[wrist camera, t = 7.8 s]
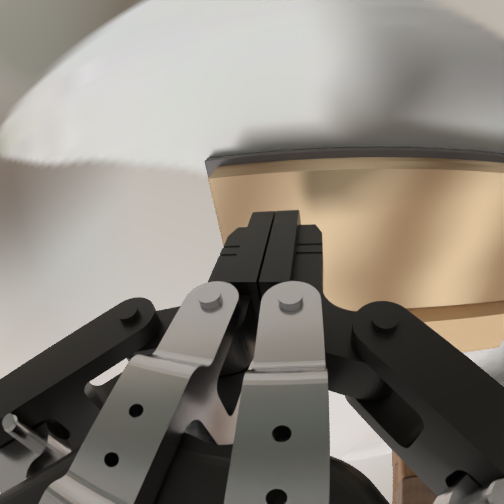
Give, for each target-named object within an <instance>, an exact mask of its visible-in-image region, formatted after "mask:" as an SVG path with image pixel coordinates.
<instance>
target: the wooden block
mask: <svg viewBox="0 0 504 504" xmlns="http://www.w3.org/2000/svg"><path fill="white" fill-rule="evenodd" d="M392 462H393V463H392V465H393V502H392V504H433V503H434V501H435V500H436V498H437V497H438V496H437V495H436V494H435V493H434V492H433V491H432V490H431V489H430V488H429V487H428V486H427V485H426V484H425V483H424V482H423V481H422V480H421V479H420V478H419V477H418V476H417V475H416V474H415V473H414V472H413V471H412V470H411V469H410V468H409V467H408V466H407V465H406V464H405V463H404V461H403V460H402V459H401V458H400V457H399V456H398V455H397V454H396V453H395V452H394V451H393V450H392Z"/></svg>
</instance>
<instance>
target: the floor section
mask: <svg viewBox="0 0 504 504" xmlns="http://www.w3.org/2000/svg"><path fill="white" fill-rule="evenodd" d="M353 157H414V158H443V159H462V160H476V161H489V162H500V163H504V154H501V153H491V152H481V151H469V150H455V149H438V148H412V147H345V148H318V149H300V150H285V151H272V152H260V153H249V154H240V155H230V156H222V157H213V158H207V159H206V160H205V165H206V169H207V174H208V178H209V177H210V176H211V174H212V173H213V172H214V170H215V169H216V168H217V167H219V166H228V165H238V164H248V163H260V162H272V161H286V160H302V159H322V158H353ZM406 309H407V310H408V311H410V312H411V313H412V314H413V315H415V316H416V317H417V318H419V319H420V320H421V321H423V322H424V323H425V324H426V325H428V326H429V327H430V328H432V329H433V330H434V331H435V332H437V333H438V334H439V335H440V336H442V337H443V338H444V339H446V340H447V341H448V342H449V343H451V344H452V345H453V346H454V347H456V348H457V349H458V350H459V351H461V352H462V353H463V352H470V351H477V350H483V349H489V348H495V347H499V346H500V344H501V343H502V341H503V339H504V300H501V301H492V302H482V303H472V304H461V305H449V306H435V307H421V308H406ZM354 312H357V311H354Z"/></svg>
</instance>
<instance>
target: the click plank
mask: <svg viewBox="0 0 504 504" xmlns="http://www.w3.org/2000/svg"><path fill="white" fill-rule="evenodd" d="M208 181H209V184H210V189H211V194H212V198H213V202H214V207H215V211H216V215H217V219H218V223H219V228H220V232H221V236H222V240H223V245H224V244H225V242H226V240H227V237H228V236H229V235H230V234H231V233H232V232H233V231H234V230H236V229H237V228H238V227H247V226H248V223H249V220H250V218H251V215H252V213H253V212H264V211H284V210H299V212H300V220H301V225H311V224H316V226H317V227H318V228H319V230H320V231H321V232H322V242H323V293H324V295H325V297H326V298H327V299H328V300H329V301H330V302H331V303H332V304H334V305H335V306H338V307H340V308H343V309H346V310H350V311H358V310H359V309H360V308H361V307H363V306H364V305H366V304H368V303H371V302H376V301H389V302H393V303H397V304H399V305H401V306H403V307H404V308H421V307H435V306H449V305H461V304H472V303H482V302H492V301H501V300H504V163H500V162H489V161H476V160H462V159H443V158H414V157H353V158H322V159H302V160H286V161H272V162H260V163H248V164H238V165H228V166H219V167H217V168H216V169H215V170H214V172H213V173H212V174H211V176H210V177H209V178H208Z"/></svg>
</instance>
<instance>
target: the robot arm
mask: <svg viewBox="0 0 504 504" xmlns="http://www.w3.org/2000/svg"><path fill="white" fill-rule="evenodd" d="M125 358H127V359H128V361H129V363H128V364H127V366H126V367H125V369H124V371H123V372H122V373H120V374H119V375H117V376H116V377H114V378H113V379H111V380H110V381H108V382H106V383H105V384H103V385H100V386H94V385H92V384H90V383H89V381H90V380H92V379H94V378H96V377H97V376H99V375H100V374H102V373H103V372H105V371H106V370H108V369H110V368H111V367H113V366H114V365H116V364H117V363H119V362H120V361H122V360H124V359H125ZM328 390H330V391H333V392H337V393H339V394H343V395H345V397H346V399H347V401H348V402H349V404H350V405H351V406H352V407H353V408H354V409H355V410H356V411H357V412H358V413H359V415H361V417H362V418H363V419H364V420H365V421H366V422H367V423H368V424H369V425H370V426H371V427H372V429H373V430H374V431H375V432H376V433H377V434H378V435H379V436H380V437H381V438H382V439H383V440H384V441H385V442H386V444H387V445H388V446H389V447H390V448H391V449H392V450H393V451H394V452H395V453H396V454H397V455H398V456H399V457H400V458H401V459H402V460H403V461H404V463H405V464H406V465H407V466H408V467H409V468H410V469H411V470H412V471H413V472H414V473H415V474H416V475H417V476H418V477H419V478H420V479H421V480H422V481H423V482H424V483H425V484H426V485H427V486H428V487H429V488H430V489H431V490H432V491H433V492H434V493H435V494H436V495H437V496H438V497H437V498H436V500H435V501H434V503H433V504H504V387H503V386H502V385H500V384H499V383H498V382H497V381H496V380H494V379H493V378H492V377H491V376H490V375H489V374H487V373H486V372H485V371H484V370H483V369H481V368H480V367H479V366H478V365H476V364H475V363H474V362H473V361H472V360H470V359H469V358H468V357H467V356H465V355H464V354H463V353H462V352H461V351H459V350H458V349H457V348H456V347H454V346H453V345H452V344H451V343H449V342H448V341H447V340H446V339H444V338H443V337H442V336H440V335H439V334H438V333H437V332H435V331H434V330H433V329H432V328H430V327H429V326H428V325H426V324H425V323H424V322H423V321H421V320H420V319H419V318H417V317H416V316H415V315H413V314H412V313H411V312H410V311H408V310H407V309H406V308H404V307H403V306H401V305H399V304H397V303H393V302H389V301H376V302H371V303H368V304H366V305H364V306H363V307H361V308H360V309H359V310H358V311H357V312H354V311H350V310H346V309H343V308H340V307H338V306H335V305H334V304H332V303H331V302H330V301H329V300H328V299H327V298H326V297H325V295H324V293H323V242H322V232H321V231H320V230H319V228H318V227H317V226H316V224H311V225H301V220H300V212H299V210H284V211H264V212H253V213H252V215H251V218H250V220H249V223H248V226H247V227H238V228H237V229H236V230H234V231H233V232H232V233H231V234H230V235H229V236H228V237H227V240H226V242H225V244H224V248H223V249H222V251H221V253H220V256H219V258H218V260H217V262H216V265H215V267H214V269H213V271H212V274H211V276H210V278H209V281H208V283H205V284H202V285H200V286H198V287H196V288H194V289H193V290H192V291H191V292H190V293H189V294H188V295H187V297H186V298H185V300H184V301H183V303H182V305H181V306H179V307H175V308H170V309H165V310H160V311H156V310H155V308H154V306H153V304H152V302H151V301H150V300H148V299H145V298H132V299H129V300H126V301H124V302H122V303H120V304H118V305H117V306H115V307H114V308H112V309H110V310H109V311H107V312H105V313H104V314H102V315H101V316H99V317H97V318H96V319H94V320H92V321H91V322H89V323H88V324H86V325H84V326H83V327H81V328H80V329H78V330H76V331H75V332H73V333H72V334H70V335H68V336H67V337H65V338H64V339H62V340H61V341H59V342H57V343H56V344H54V345H53V346H51V347H49V348H48V349H46V350H45V351H43V352H42V353H40V354H39V355H37V356H35V357H34V358H33V359H31V360H29V361H28V362H26V363H25V364H23V365H22V366H20V367H18V368H17V369H15V370H14V371H12V372H11V373H9V374H8V375H6V376H5V377H3V378H2V379H0V492H1V494H0V504H389V502H388V501H387V500H386V499H385V498H384V496H383V495H382V494H381V493H380V492H379V490H378V489H377V488H376V487H375V485H374V484H373V483H372V482H371V481H370V480H369V479H368V478H367V477H366V476H365V475H364V474H363V473H361V472H360V471H359V470H357V469H356V468H354V467H353V466H351V465H349V464H347V463H346V462H344V461H342V460H339V459H337V458H334V457H332V456H330V434H329V433H330V431H329V395H328Z"/></svg>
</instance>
